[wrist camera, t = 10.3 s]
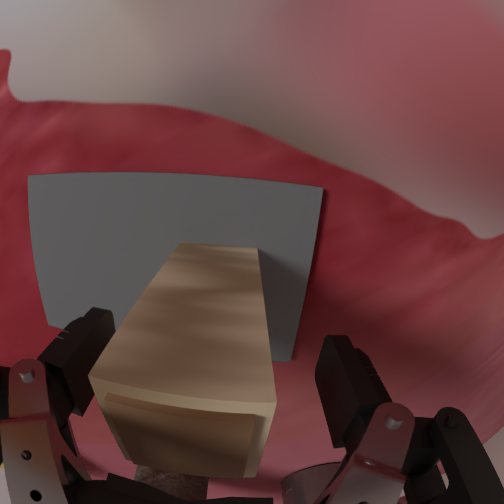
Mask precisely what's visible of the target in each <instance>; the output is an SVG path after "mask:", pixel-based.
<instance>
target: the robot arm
mask: <svg viewBox="0 0 504 504" xmlns="http://www.w3.org/2000/svg"><path fill="white" fill-rule="evenodd" d="M115 332H116V330H115V324H114V317H113V313H112V311H111V310H107V309H102V308H97V307H92V308H91V309H90V310H89V311H88V312H87V313H86V314H85V315H84V316H83V317H79V318H77V319H75V320H73V321H71V322H70V323H69V324H68V325H67V326H66V327H65V328H64V329H63V332H62V331H61V332H60V334H59V335H58V336H57V338H55V339H54V340H53V341H52V342H51V343H50V345H49V346H48V347H47V348H46V349H45V350H44V351H43V352H42V354H41V355H40V356H39V357H38V358H37V359H33V358H26V359H22V360H20V361H18V362H16V363H15V364H14V365H13V366H12V367H11V368H10V367H4V366H0V466H1V464H2V462H3V463H4V469H5V475H6V481H7V486H8V491H9V495H10V499H11V503H12V504H273V498H249V497H225V498H217V499H206V500H192V501H188V500H183V499H180V498H178V497H175V496H173V495H171V494H168V493H166V492H163V491H161V490H159V489H157V488H155V487H152V486H150V485H148V484H146V483H142V482H138V481H135V480H131V479H128V478H124V477H121V476H118V475H115V474H112V473H109V474H108V477H107V480H92V479H91V477H90V475H89V474H88V472H87V470H86V468H85V466H84V464H83V462H82V459H81V456H80V453H79V450H78V447H77V444H76V441H75V437H74V434H73V430H72V426H71V423H70V420H69V416H70V414H71V412H72V413H74V414H77V415H79V416H82V417H83V415H84V413H85V411H86V409H87V407H88V406H89V404H90V402H91V400H92V398H93V396H94V395H95V393H94V391H93V388H92V385H91V383H90V380H89V377H88V374H89V373H90V371H91V369H92V368H93V366H94V365H95V363H96V361H97V360H98V358H99V357H100V355H101V354H102V352H103V350H104V349H105V347H106V346H107V344H108V343H109V341H110V340H111V338H112V337H113V335H114V334H115ZM315 381H316V385H317V388H318V392H319V396H320V399H321V403H322V406H323V410H324V414H325V417H326V421H327V425H328V428H329V432H330V436H331V440H332V444H333V447H334V448H342V447H345V448H346V452H347V453H346V455H345V456H344V458H343V459H342V461H341V463H333V464H325V465H320V466H316V467H311V468H308V469H305V470H301V471H299V472H296V473H294V474H292V475H290V476H288V477H287V478H285V479H284V480H283V481H282V492H283V493H282V496H283V502H284V504H397V502H398V500H399V497H400V494H401V492H402V489H403V490H404V493H405V497H406V500H407V504H504V488H503V486H502V484H501V481H500V479H499V477H498V475H497V473H496V471H495V469H494V467H493V465H492V463H491V461H490V459H489V457H488V455H487V453H486V451H485V449H484V447H483V445H482V444H481V442H480V440H479V438H478V436H477V435H476V433H475V431H474V429H473V428H472V426H471V424H470V422H469V421H468V419H467V417H466V416H465V415H464V414H463V413H462V412H461V411H460V410H458V409H456V408H453V407H445V408H442V409H440V410H439V411H438V413H437V414H436V415H435V417H434V418H424V417H414V415H413V413H412V412H411V411H410V410H409V409H408V408H407V407H405V406H404V405H402V404H399V403H395V402H392V400H391V398H390V396H389V394H388V392H387V390H386V388H385V387H384V385H383V383H382V381H381V379H380V377H379V375H377V372H376V370H375V368H373V364H372V363H371V361H370V359H369V357H368V356H367V355H366V354H365V353H364V352H362V351H361V350H360V349H359V348H354V347H353V345H352V343H351V341H350V339H349V337H348V336H346V335H327V336H326V337H325V340H324V343H323V346H322V349H321V353H320V356H319V359H318V362H317V365H316V369H315ZM440 460H441V463H442V465H443V467H444V470H445V472H446V475H447V477H448V480H449V485H448V489H446V487H445V484H444V481H443V479H442V476H441V474H440V471H439V469H438V466H437V463H438V462H439V461H440Z"/></svg>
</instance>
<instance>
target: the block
mask: <svg viewBox="0 0 504 504" xmlns="http://www.w3.org/2000/svg"><path fill="white" fill-rule="evenodd" d="M88 377H89V380H90V383H91V385H92V388H93V391H94V393H95V396H96V398H97V401H98V403H99V405H100V408H101V410H102V412H103V415H104V417H105V419H106V421H107V423H108V425H109V428H110V430H111V432H112V434H113V436H114V438H115V440H116V442H117V444H118V446H119V447H120V449H121V451H122V453H123V455H124V457H125V458H126V460H130V461H132V462H133V464H137V465H141V466H146V467H150V468H154V469H159V470H164V471H170V472H175V473H181V474H188V475H195V476H204V477H214V478H226V479H243V477H251V478H255V477H256V473H257V470H258V467H259V464H260V461H261V457H262V454H263V451H264V447H265V444H266V440H267V437H268V433H269V430H270V426H271V423H272V419H273V415H274V412H275V408H276V404H277V400H276V392H275V384H274V376H273V368H272V360H271V352H270V344H269V336H268V328H267V320H266V312H265V304H264V297H263V289H262V281H261V273H260V266H259V258H258V250H257V248H250V247H238V246H227V245H215V244H203V243H192V242H180V243H179V245H178V246H177V247H176V249H175V250H174V251H173V252H172V254H171V255H170V256H169V258H168V259H167V260H166V262H165V263H164V264H163V266H162V267H161V268H160V270H159V271H158V272H157V274H156V275H155V277H154V278H153V279H152V281H151V282H150V283H149V285H148V286H147V288H146V289H145V290H144V292H143V293H142V294H141V296H140V297H139V299H138V300H137V302H136V303H135V304H134V306H133V307H132V309H131V310H130V312H129V313H128V314H127V316H126V317H125V319H124V320H123V322H122V323H121V325H120V326H119V328H118V329H117V331H116V332H115V334H114V335H113V337H112V338H111V340H110V341H109V343H108V344H107V346H106V347H105V349H104V350H103V352H102V354H101V355H100V357H99V358H98V360H97V361H96V363H95V365H94V366H93V368H92V369H91V371H90V373H89V374H88Z"/></svg>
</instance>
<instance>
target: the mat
mask: <svg viewBox="0 0 504 504" xmlns="http://www.w3.org/2000/svg"><path fill="white" fill-rule="evenodd" d="M322 194H323V188H322V187H316V186H309V185H301V184H294V183H286V182H278V181H269V180H260V179H250V178H240V177H228V176H215V175H201V174H183V173H158V172H81V173H58V174H42V175H30V176H28V205H29V221H30V232H31V241H32V249H33V256H34V262H35V268H36V274H37V279H38V284H39V289H40V294H41V298H42V302H43V306H44V310H45V314H46V318H47V321H48V325H50V326H54V327H57V328H61V329H64V328H65V327H66V326H67V325H68V324H69V323H70V322H71V321H73V320H75V319H77V318H79V317H83V316H84V315H85V314H86V313H87V312H88V311H89V310H90V309H91V308H92V307H97V308H102V309H107V310H111V311H112V313H113V317H114V324H115V330H116V331H117V329H118V328H119V326H120V325H121V323H122V322H123V320H124V319H125V317H126V316H127V314H128V313H129V312H130V310H131V309H132V307H133V306H134V304H135V303H136V302H137V300H138V299H139V297H140V296H141V294H142V293H143V292H144V290H145V289H146V288H147V286H148V285H149V283H150V282H151V281H152V279H153V278H154V277H155V275H156V274H157V272H158V271H159V270H160V268H161V267H162V266H163V264H164V263H165V262H166V260H167V259H168V258H169V256H170V255H171V254H172V252H173V251H174V250H175V249H176V247H177V246H178V245H179V243H180V242H192V243H203V244H215V245H227V246H238V247H250V248H257V250H258V258H259V266H260V273H261V281H262V289H263V297H264V304H265V312H266V320H267V328H268V336H269V344H270V352H271V360H272V361H274V362H290V360H291V356H292V352H293V348H294V344H295V339H296V335H297V331H298V326H299V322H300V317H301V312H302V308H303V303H304V298H305V293H306V288H307V283H308V278H309V273H310V267H311V262H312V257H313V251H314V245H315V239H316V233H317V227H318V221H319V214H320V208H321V201H322Z"/></svg>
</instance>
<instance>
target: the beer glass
mask: <svg viewBox="0 0 504 504" xmlns="http://www.w3.org/2000/svg"><path fill="white" fill-rule="evenodd" d="M397 504H407V500H406V497H405V493H404V490H403V489H402V492H401V494H400V497H399V500H398V502H397Z"/></svg>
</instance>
